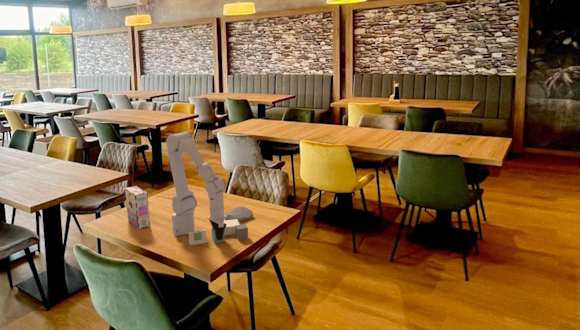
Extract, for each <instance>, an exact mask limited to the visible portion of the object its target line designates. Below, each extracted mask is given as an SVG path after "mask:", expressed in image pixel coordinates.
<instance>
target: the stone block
mask: <svg viewBox="0 0 580 330" xmlns="http://www.w3.org/2000/svg"><path fill="white" fill-rule="evenodd" d="M224 215H227V218H225V219H224V220H234V219H237V220H238V222H239V223H240V222H243V221H247V220H251V219H252V218H253V216H254V212H253V211H252V210H251V209H249V208H248V207H245V206H241V205H240V206H237V207H234V208H233V209H232V210H230V211H226V212H224Z"/></svg>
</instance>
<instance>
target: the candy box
mask: <svg viewBox="0 0 580 330" xmlns="http://www.w3.org/2000/svg"><path fill="white" fill-rule="evenodd" d="M124 194H125V202H126V211H127V219H128V222H129V223H130V224H131V225H132V226H134V227H135V228H136V229H138V230H142V229H145V228H150V227H151V221H150V212H149V211H150V210H149V209H150V208H149V199H148V197H149V196H148V192H147V191H145V190H144V189H142V188H141V187H139V186H137V185H135V186H129V187H124Z"/></svg>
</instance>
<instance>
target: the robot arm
mask: <svg viewBox="0 0 580 330" xmlns="http://www.w3.org/2000/svg"><path fill="white" fill-rule="evenodd" d="M195 141H196V140H195V138H194V137H193V135H192V133H191V132H190V131H184V132H179V133H175V134H169V135H168V136H167V138H166V139H165V143H166V150H167V155H168V156H167V157H168V160H169V164H170V170H171V175H172V179H173V183H174V188H175V189H174V190H175V193H174V195H173V196H172V197H171V200H172V203H171V207H172V210H173V212H174V213H172V214H171V222H172V231H173V234H174V236H175V237H177V236H186V235H189V232H195V231H197V229H196V227H195V214H194V213H195V211H196V210H195V209H196V208H197V206H198V201H197V199H196V196H195V193H194V192H193V191H192V190H190V189H189V186H188V180H187V176H186V175H187V174H186V171H185V165H184V161H183V153H186V154H187V155H188V157H189V158H190V159H191V160H192V161H193V163H194V164H195V165H196V166H197V173H198V174H199V176H200V178H201V179H202V180H203V182H204V184H205V191H206V193H207V197H208V199H209V219H208V221H209V222H210V224H211V227H212V228H214V230H215V233H216V238H217V240H222V238H223V233H224V230H225V228H226V223H225V224H224V220H225V218H227V215H225V207H224V206H225V204H224V190H226V187H227V184H226V181H225V179H224V178H223V177H221V176H219V175H218V174H217V173H216V172H215V169H214V168H213V167H212V165H211V164H210V163H208V162H205V160H204V159H203V157H202V155H201V153H200V151H199V150H198V148H197V146H196V144H195V143H196V142H195ZM212 228H211V229H212Z"/></svg>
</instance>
